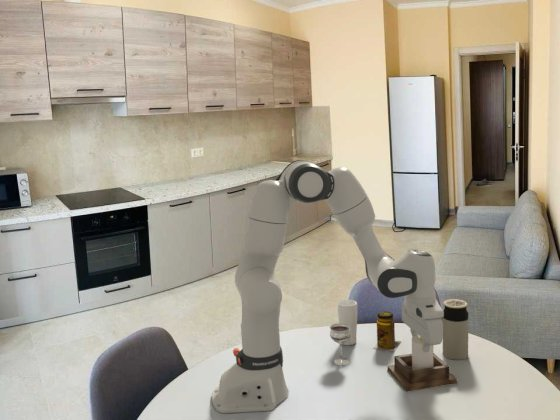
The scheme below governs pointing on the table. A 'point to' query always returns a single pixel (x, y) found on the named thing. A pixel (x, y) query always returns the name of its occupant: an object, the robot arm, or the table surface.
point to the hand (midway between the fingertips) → (420, 346)
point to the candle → (421, 354)
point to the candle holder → (420, 374)
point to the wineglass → (340, 339)
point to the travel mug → (455, 329)
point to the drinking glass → (348, 318)
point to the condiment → (386, 332)
